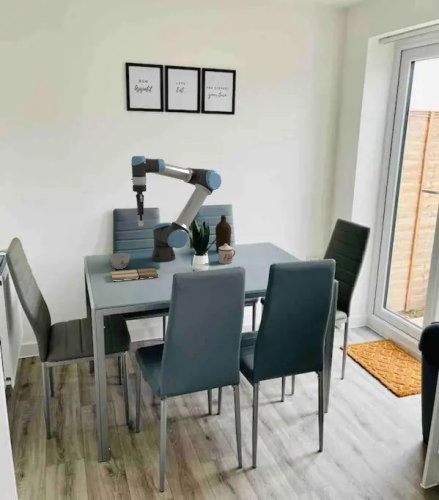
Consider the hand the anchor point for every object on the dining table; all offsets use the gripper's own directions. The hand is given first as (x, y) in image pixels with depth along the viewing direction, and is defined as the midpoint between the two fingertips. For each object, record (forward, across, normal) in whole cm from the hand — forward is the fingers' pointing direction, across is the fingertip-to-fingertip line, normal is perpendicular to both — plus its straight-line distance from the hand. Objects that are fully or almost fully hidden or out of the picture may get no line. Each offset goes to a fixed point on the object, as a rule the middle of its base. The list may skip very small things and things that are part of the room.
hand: (141, 225), depth 253 cm
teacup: (+27, -8, -13) cm, 31 cm away
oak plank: (+26, +11, -12) cm, 31 cm away
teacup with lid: (+27, -2, +53) cm, 59 cm away
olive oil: (+27, -26, +58) cm, 69 cm away
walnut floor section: (+26, +11, +1) cm, 29 cm away
